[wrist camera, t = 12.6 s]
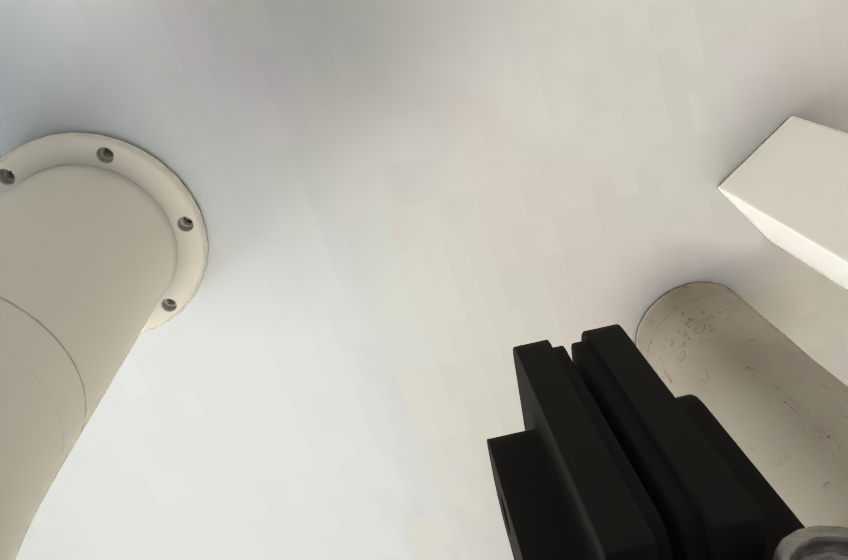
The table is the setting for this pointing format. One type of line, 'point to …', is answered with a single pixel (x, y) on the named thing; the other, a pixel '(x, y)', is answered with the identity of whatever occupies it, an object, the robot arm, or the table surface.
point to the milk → (799, 194)
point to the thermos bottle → (756, 393)
